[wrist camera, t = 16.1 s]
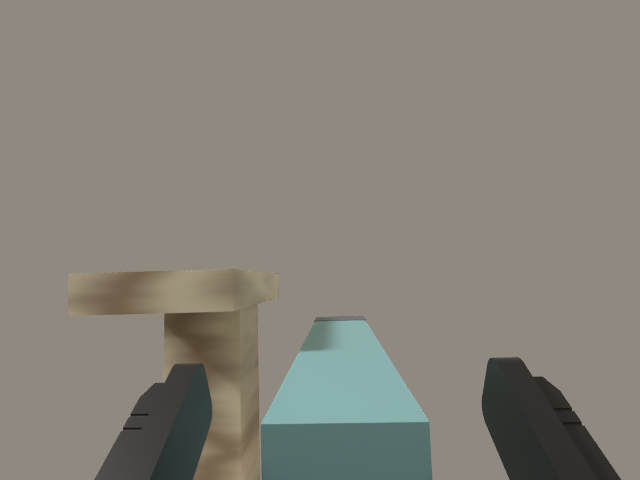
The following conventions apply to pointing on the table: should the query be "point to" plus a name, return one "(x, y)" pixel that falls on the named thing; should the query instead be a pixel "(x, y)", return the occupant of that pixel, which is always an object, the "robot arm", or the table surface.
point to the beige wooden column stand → (199, 345)
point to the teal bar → (344, 412)
